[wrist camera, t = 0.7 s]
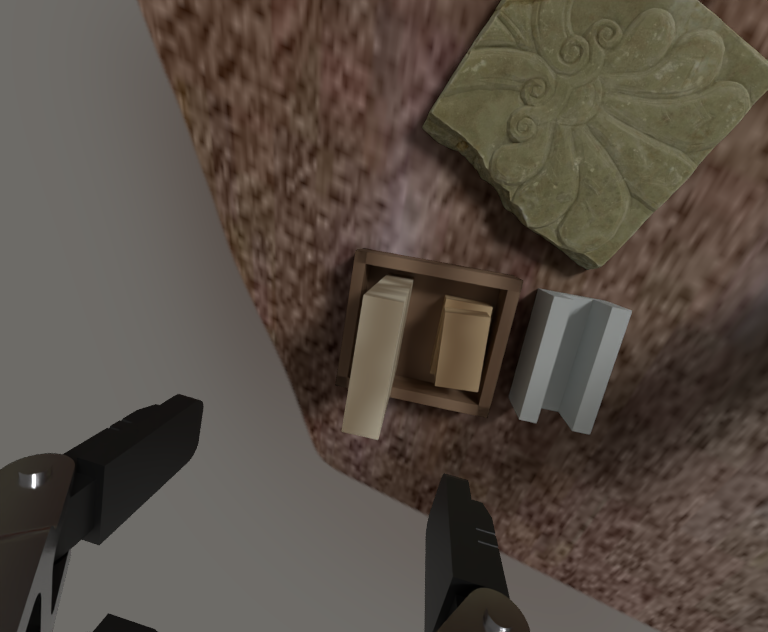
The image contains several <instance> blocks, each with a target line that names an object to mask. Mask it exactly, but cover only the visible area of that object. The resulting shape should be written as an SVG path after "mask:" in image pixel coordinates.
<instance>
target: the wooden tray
mask: <svg viewBox="0 0 768 632" xmlns="http://www.w3.org/2000/svg"><path fill="white" fill-rule="evenodd" d="M388 273H392V274H397V275H403V276H408V277H413V278H414V281H413V287H412V292H411V297H410V302H409V307H408V313H407V318H406V323H405V328H404V334H403V339H402V344H401V349H400V354H399V360H398V365H397V370H396V373H395V377H394V381H393V385H392V389H391V393H390V396H389V397H391V398H396V399H401V400H405V401H410V402H415V403H419V404H424V405H428V406H433V407H438V408H442V409H447V410H452V411H456V412H461V413H466V414H470V415H475V416H479V417H484V418H487V417H488V414H489V410H490V406H491V402H492V398H493V395H494V391H495V387H496V383H497V379H498V376H499V372H500V368H501V364H502V360H503V357H504V353H505V349H506V345H507V341H508V338H509V334H510V330H511V326H512V322H513V319H514V315H515V311H516V307H517V303H518V300H519V296H520V292H521V288H522V284H523V280H521V279H519V278H517V277H515V276H513V275H508V274H503V273H497V272H492V271H486V270H481V269H475V268H470V267H464V266H459V265H453V264H448V263H442V262H437V261H431V260H426V259H420V258H415V257H409V256H404V255H398V254H393V253H387V252H382V251H376V250H371V249H365V248H363V249H358V250H356V252H355V258H354V265H353V271H352V278H351V285H350V291H349V298H348V305H347V311H346V318H345V324H344V331H343V338H342V344H341V351H340V358H339V364H338V371H337V377H336V384H335V385H336V386H341V387H345V388H349V382H350V376H351V370H352V364H353V357H354V351H355V345H356V339H357V332H358V326H359V320H360V314H361V308H362V301H363V295H364V294H365V293H366V292H367V291H369V290H370V289H371V288H372V287H373V286H374V285H375V284H377V283H378V282H379V281H380V280H381V279H382V278H383V277H385V276H386V275H387V274H388ZM445 295H451V296H456V297H461V298H466V299H472V300H477V301H482V302H487V303H489V304H490V305H491V306H492V307H493V309H492V313H491V320H490V326H489V332H488V337H487V343H486V349H485V355H484V361H483V366H482V372H481V378H480V384H479V390H478V392H473V391H466V390H459V389H452V388H445V387H438V386H435V375H434V374H430V364H431V359H432V354H433V350H434V345H435V340H436V336H437V331H438V326H439V322H440V317H441V312H442V308H443V303H444V298H445Z"/></svg>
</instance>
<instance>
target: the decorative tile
mask: <svg viewBox="0 0 768 632" xmlns="http://www.w3.org/2000/svg"><path fill="white" fill-rule="evenodd" d="M767 90H768V61H767V60H766V59H765V58H764V57H763V56H762V55H761V54H760V53H759V52H757V51H756V50H755V49H754V48H753V47H751V46H750V45H749V44H748V43H747V42H745V41H744V40H743V39H742V38H741V37H740V36H739V35H737V34H736V33H735V32H734V31H733V30H731V29H730V28H729V27H728V26H727V25H726V24H725V23H724V22H723V21H722V20H721V19H720V18H719V17H717V16H716V15H715V14H714V13H713V12H711V11H710V10H709V9H708V8H706V7H705V6H704V5H703V4H702V3H700V2H699V1H698V0H501V1H500V3H499V4H498V6H497V8H496V10H495V12H494V13H493V15H492V16H491V18H490V20H489V21H488V23H487V24H486V25H485V27H484V28H483V29H482V31H481V32H480V33H479V35H478V36H477V38H476V39H475V41H474V43H473V44H472V46H471V47H470V49H469V50H468V52H467V54H466V55H465V56H464V58H463V59H462V61H461V62H460V64H459V66H458V67H457V69H456V70H455V72H454V73H453V75H452V77H451V78H450V80H449V82H448V83H447V85H446V87H445V88H444V90H443V91H442V93H441V94H440V96H439V98H438V99H437V101H436V102H435V104H434V105H433V107H432V109H431V110H430V112H429V114H428V117H427V119H426V121H425V123H424V125H423V127H422V128H423V129H424V131H426V132H427V133H428V134H429V135H430V136H431V137H432V138H433V139H434V140H436V141H437V142H438V143H439V144H441V145H444V146H446V147H448V148H450V149H453V150H456V151H459V152H460V153H461V154H462V155H463V156H465V157H466V159H467V160H468V161H469V162H470V163H471V164H472V165H473V167H474V168H475V169H476V170H477V171H478V173H479V175H480V178H482V179H483V180H485V181H487V182H488V183H490V184H491V185H492V186H493V187H494V188H495V189H496V191H497V192H498V194H499V197H500V198H501V202H502V204H503V206H504V208H505V209H506V210H508V211H510V212H512V213H514V215H515V216H516V217H518V219H519V220H520V222H521V223H522V224H523V225H524V226H526V227H527V228H529V229H531V230H532V231H533V232H534V233H536V234H539V235H541V236H542V237H543V238H544V239H546V240H547V241H549V242H550V243H551V244H553V245H555V246H556V247H557V248H558V249H560V250H561V251H563V252H564V253H565V254H567V255H568V256H569V258H570V259H571V260H573V261H575V262H576V263H577V264H578V265H580V266H582V267H584V268H585V269H587V270H588V269H595V268H599V267H601V266H603V265H604V264H605V263H606V262H607V261H608V260H609V259H610V258H611V257H612V256H613V255H614V254H615V253H616V252H617V251H618V249H620V247H621V246H622V245H623V244H624V243H625V242H626V241H627V240H628V239H629V238H630V237H631V236H632V235H633V234H634V233H635V232H636V231H637V230H638V228H639V227H640V226H641V225H642V224H643V223H644V222H645V221H646V220H647V219H648V218H649V216H650V215H651V214H652V213H653V212H654V211H656V210H657V209H658V208H659V207H660V206H661V205H662V204H663V203H664V202H666V200H667V199H668V198H669V197H670V196H671V195H672V194H673V193H674V192H675V191H676V190H677V189H678V188H679V187H680V186H681V185H682V184H683V183H684V182H685V181H686V180H687V179H688V178H689V177H690V176H691V175H692V173H693V172H694V171H695V169H696V168H697V166H698V165H699V164H700V163H701V162H702V160H703V159H704V158H705V157H706V156H707V155H708V154H709V153H710V151H711V150H712V149H713V148H714V147H715V146H716V145H717V144H718V143H719V142H720V141H721V140H723V139H724V138H725V137H726V136H727V135H728V133H729V132H730V131H731V130H732V129H733V128H734V127H735V126H736V125H737V124H738V123H739V122H740V121H741V120H742V118H743V117H744V116H745V114H746V113H747V112H748V111H749V110H750V108H751V107H752V105H753V104H754V103H755V102H756V101H757V100H758V99H759V98H760V97H761V96H762V95H763V94H764V93H765V92H766V91H767Z"/></svg>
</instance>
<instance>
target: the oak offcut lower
mask: <svg viewBox="0 0 768 632" xmlns="http://www.w3.org/2000/svg"><path fill="white" fill-rule="evenodd" d="M444 307H450V308H458V309H466V310H474V311H482V312H487V313H488V315H489V316H490V317H491V313H492V309H493V307H492V306H491V305H490V304H489V303H487V302H482V301H477V300H472V299H466V298H461V297H456V296H451V295H445V298H444V303H443V308H442V312H441V317H440V322H439V326H438V331H437V336H436V340H435V345H434V350H433V354H432V359H431V364H430V374H434V375H435V369H436V362H437V355H438V348H439V341H440V334H441V327H442V320H443V313H444Z"/></svg>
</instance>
